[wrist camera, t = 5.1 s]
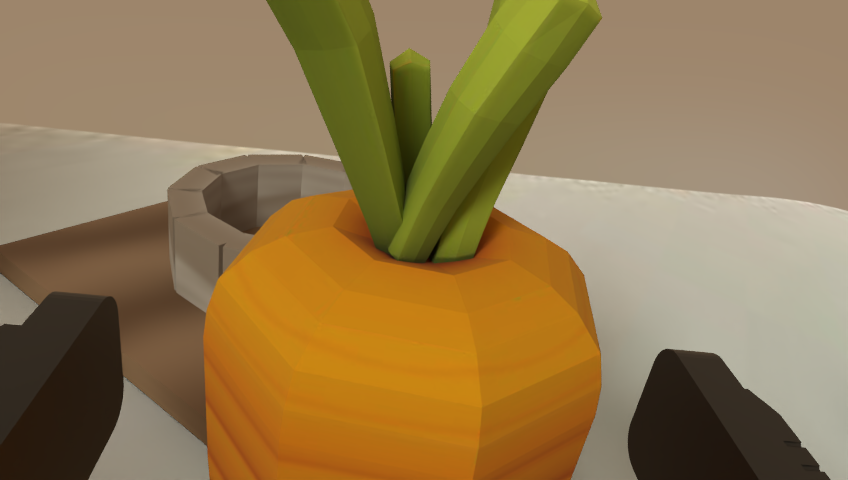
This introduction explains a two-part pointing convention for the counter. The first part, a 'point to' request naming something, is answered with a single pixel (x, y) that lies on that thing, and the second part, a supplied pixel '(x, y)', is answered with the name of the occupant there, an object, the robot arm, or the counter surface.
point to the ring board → (169, 265)
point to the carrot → (408, 276)
